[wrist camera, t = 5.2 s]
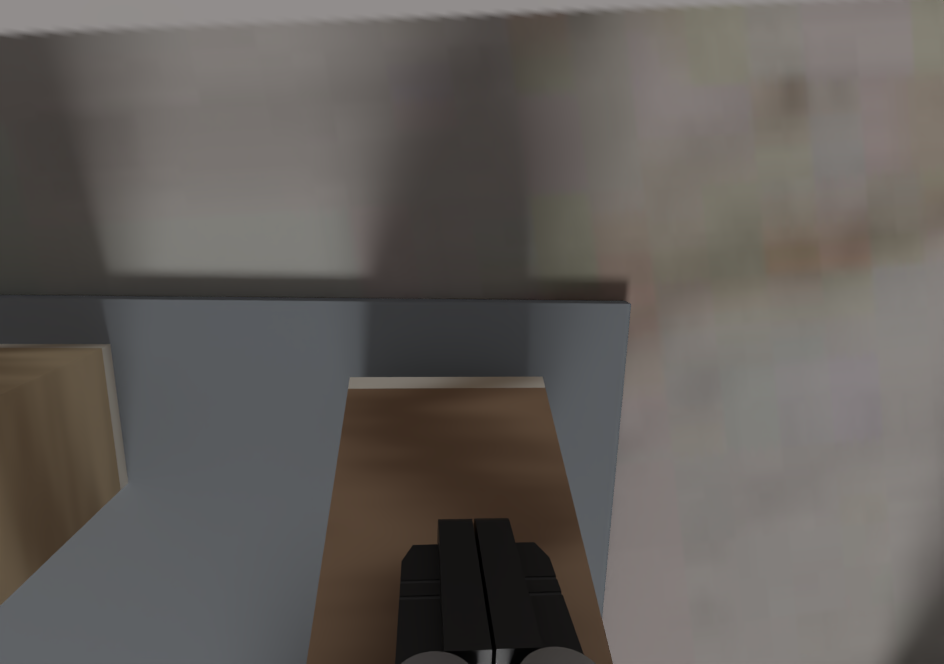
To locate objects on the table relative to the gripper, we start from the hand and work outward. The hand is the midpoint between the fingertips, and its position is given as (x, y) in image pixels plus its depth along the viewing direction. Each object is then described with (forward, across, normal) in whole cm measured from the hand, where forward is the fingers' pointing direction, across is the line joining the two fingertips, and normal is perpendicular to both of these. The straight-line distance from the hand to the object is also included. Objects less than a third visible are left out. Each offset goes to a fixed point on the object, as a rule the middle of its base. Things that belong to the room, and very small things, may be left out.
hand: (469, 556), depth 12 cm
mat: (+9, +7, +5) cm, 13 cm away
